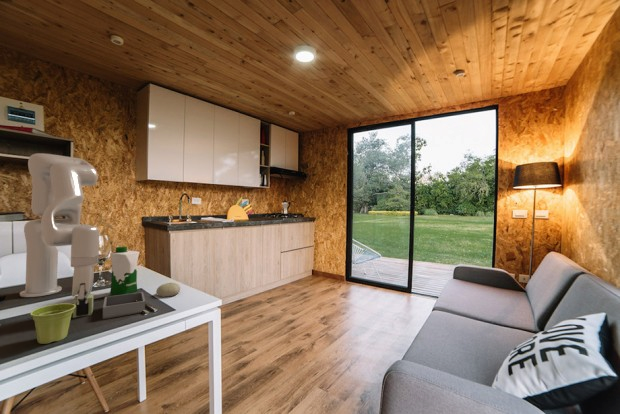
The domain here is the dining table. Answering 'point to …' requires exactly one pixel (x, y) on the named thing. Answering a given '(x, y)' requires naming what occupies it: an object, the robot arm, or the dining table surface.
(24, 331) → the dining table surface
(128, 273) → the milk carton
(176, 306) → the dining table surface
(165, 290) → the sea urchin shell
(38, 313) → the plant pot
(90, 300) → the olive block
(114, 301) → the tray
